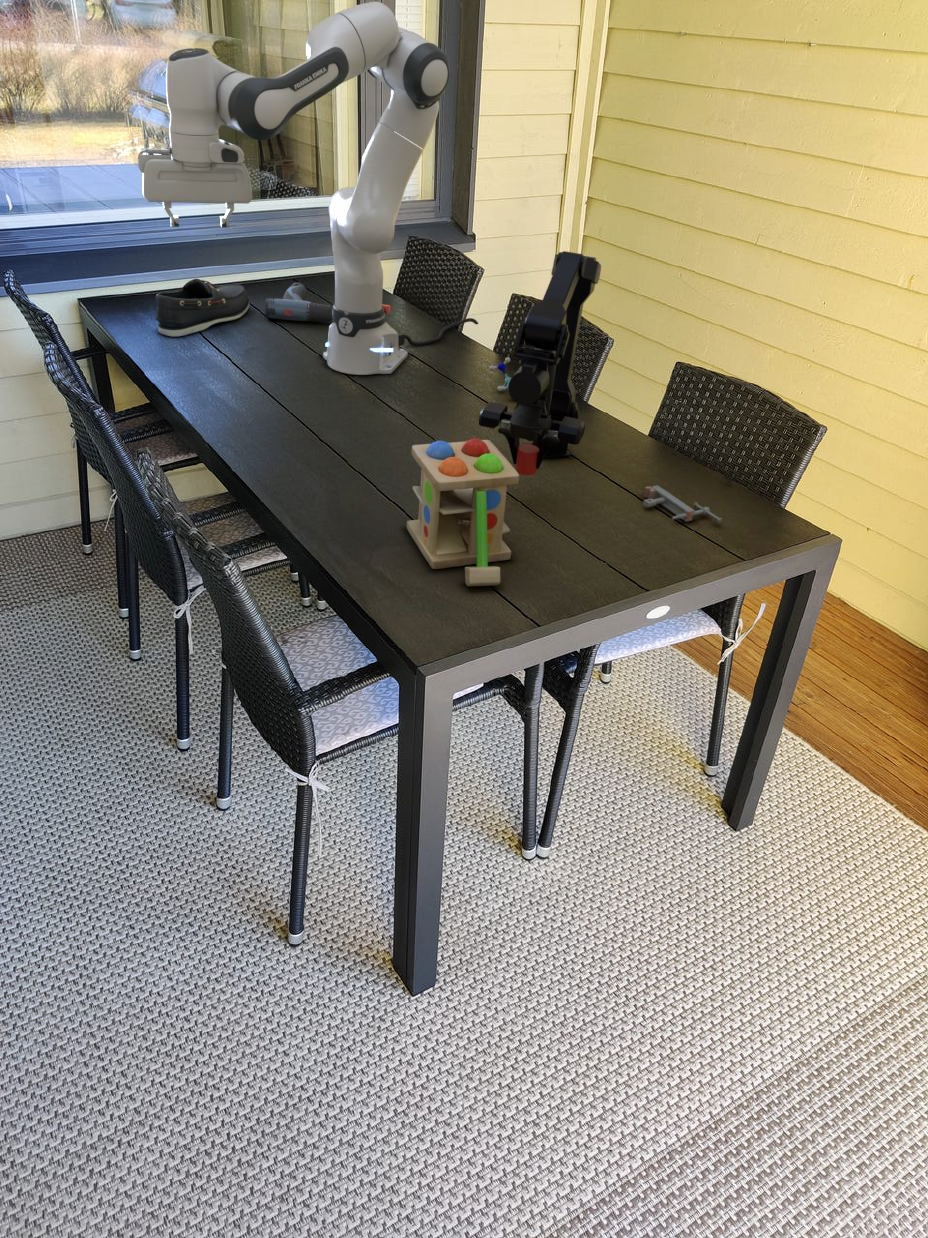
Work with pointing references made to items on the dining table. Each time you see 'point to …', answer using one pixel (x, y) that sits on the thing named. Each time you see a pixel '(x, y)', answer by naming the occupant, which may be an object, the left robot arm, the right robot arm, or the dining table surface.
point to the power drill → (297, 306)
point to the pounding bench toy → (463, 507)
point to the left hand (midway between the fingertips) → (200, 226)
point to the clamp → (655, 498)
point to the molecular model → (501, 368)
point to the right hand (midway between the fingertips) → (526, 465)
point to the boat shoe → (199, 307)
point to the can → (527, 459)
